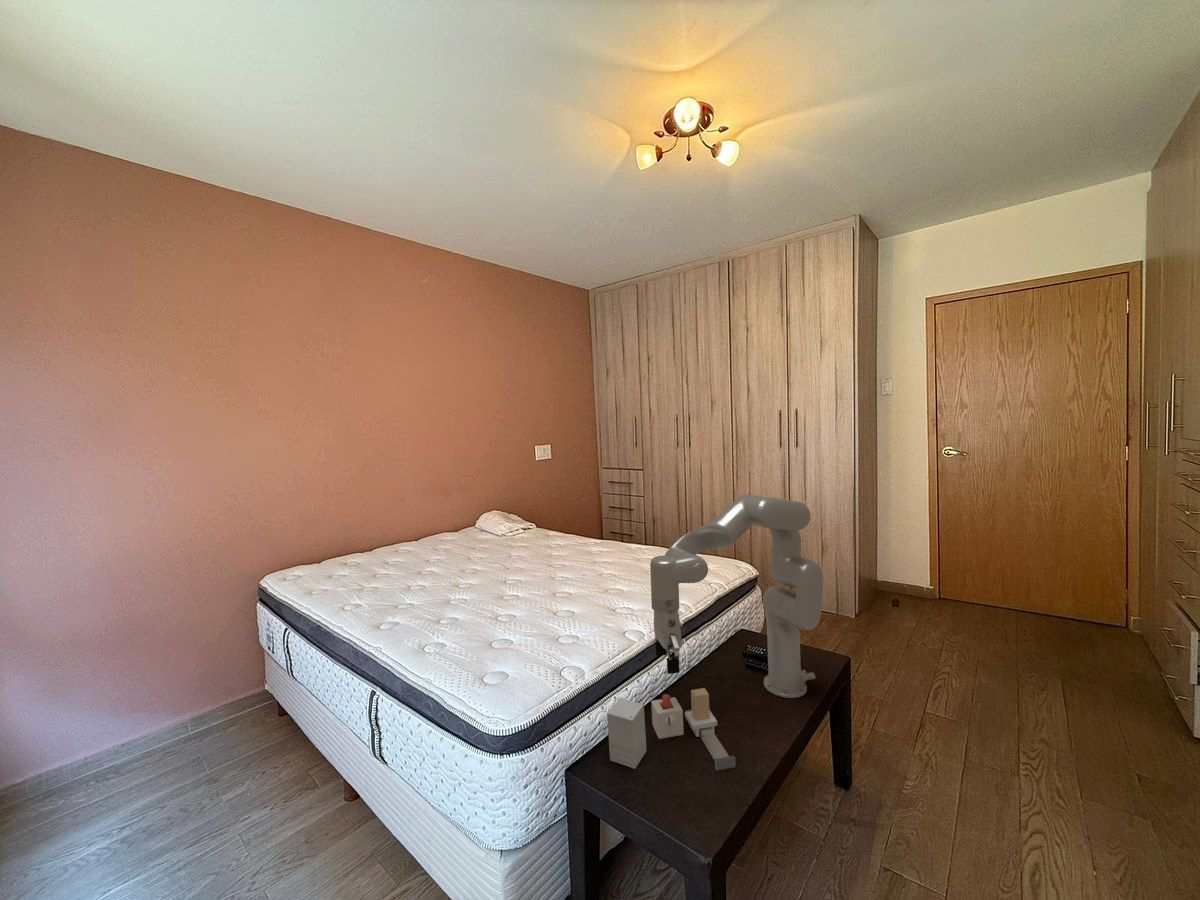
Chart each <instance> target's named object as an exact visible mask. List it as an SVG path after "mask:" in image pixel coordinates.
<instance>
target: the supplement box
mask: <svg viewBox="0 0 1200 900" xmlns="http://www.w3.org/2000/svg"><path fill="white" fill-rule="evenodd" d="M606 719H607V731H608V732H607V733H608V746H609V747H608V748H609V750H608V751H609V761H611V762H613V763H617V764H620V765H623V766H626V767H629V768H631V769H634V770H635V769H637V767H638V765H639V764H640V762H641V760H642V759H643V758H644V755H646V753H647V736H646V720H645V719H646V718H645V705H644V704H642V703H639V702H636V701H632V700H628V699H626V698H622V697H620V698H619V699H618V700H617V701H616V702H615V703H614V704H613V705H612V707H611V708H610V709H609V710H608V711H607V712H606Z"/></svg>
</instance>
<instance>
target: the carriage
mask: <svg viewBox="0 0 1200 900" xmlns="http://www.w3.org/2000/svg"><path fill="white" fill-rule="evenodd" d="M690 699H691V700H690V702H691V703H690V705H691V709H692V711H689V712H684V717H685V720H686V719H687V720H686V721H687V722H688V725H689V726H690V728H691V730H692V732H693V734H694V735H695V737H696V738H697V737H700V735H699V729H701V728H707V727H710V728H711V729H712V731H713V732H714V734H715V727H716V726H718V720H717V718H716V717H715V716H714V715H713V713H712V711H711V710H710V693H708V691H707V689H706V688H705V687H702V688H696V689H691V690H690ZM715 735H716V734H715Z"/></svg>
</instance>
